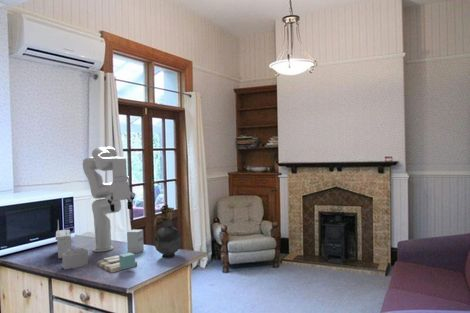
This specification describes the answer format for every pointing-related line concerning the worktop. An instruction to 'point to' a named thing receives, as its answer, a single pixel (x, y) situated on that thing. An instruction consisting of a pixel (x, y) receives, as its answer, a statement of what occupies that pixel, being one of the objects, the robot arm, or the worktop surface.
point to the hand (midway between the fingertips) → (121, 210)
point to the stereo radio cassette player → (63, 241)
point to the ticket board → (112, 264)
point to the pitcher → (167, 234)
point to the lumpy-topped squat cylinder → (75, 258)
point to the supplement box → (135, 241)
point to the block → (127, 260)
